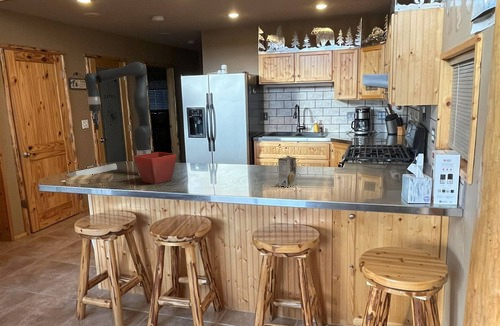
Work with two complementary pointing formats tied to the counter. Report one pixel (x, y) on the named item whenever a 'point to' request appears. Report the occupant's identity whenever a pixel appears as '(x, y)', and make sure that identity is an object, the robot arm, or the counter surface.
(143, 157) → the plant pot
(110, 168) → the decorative molding
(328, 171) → the counter surface
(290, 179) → the coffee box
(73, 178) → the oak plank
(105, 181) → the wooden block
